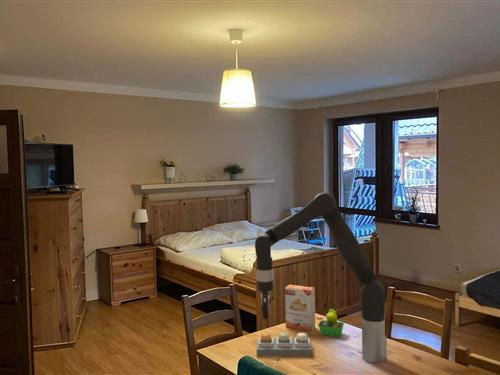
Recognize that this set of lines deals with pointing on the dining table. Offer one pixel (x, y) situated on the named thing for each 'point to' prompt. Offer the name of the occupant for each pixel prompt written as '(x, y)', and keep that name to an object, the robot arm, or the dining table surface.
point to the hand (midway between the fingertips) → (265, 316)
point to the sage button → (283, 336)
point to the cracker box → (300, 307)
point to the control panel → (284, 347)
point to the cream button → (302, 336)
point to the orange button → (265, 336)
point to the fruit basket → (331, 325)
